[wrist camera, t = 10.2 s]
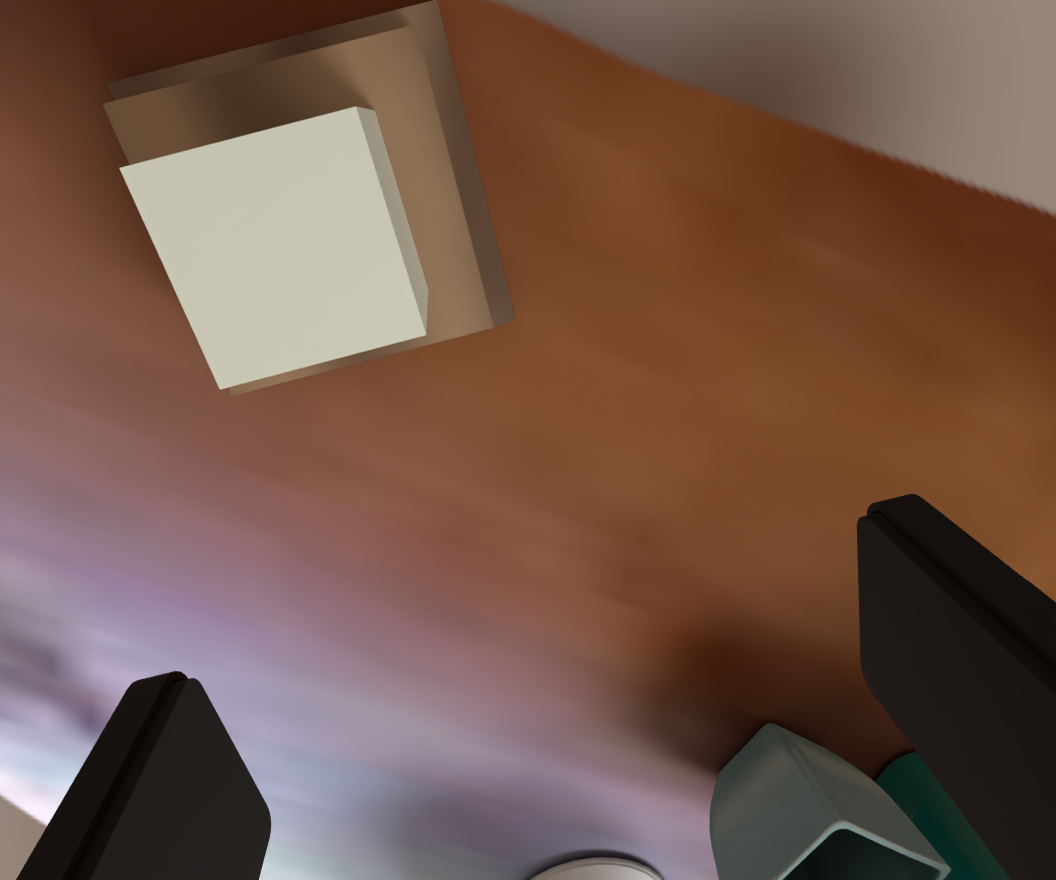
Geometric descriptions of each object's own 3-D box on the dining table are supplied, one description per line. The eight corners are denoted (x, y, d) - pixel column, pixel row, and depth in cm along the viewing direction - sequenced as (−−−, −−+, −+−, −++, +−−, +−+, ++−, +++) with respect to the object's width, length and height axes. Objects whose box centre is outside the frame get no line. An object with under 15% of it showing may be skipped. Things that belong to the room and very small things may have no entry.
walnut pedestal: (436, 4, 26) (437, -21, 22) (512, 314, 31) (525, 345, 27) (120, 84, 26) (54, 76, 22) (248, 382, 31) (216, 426, 27)
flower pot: (672, 782, 45) (726, 929, 37) (762, 686, 42) (840, 820, 34) (772, 823, 48) (842, 968, 39) (862, 735, 45) (956, 870, 37)
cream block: (374, 110, 23) (356, 106, 17) (428, 289, 25) (426, 334, 20) (194, 157, 23) (119, 167, 17) (266, 332, 25) (220, 389, 20)
